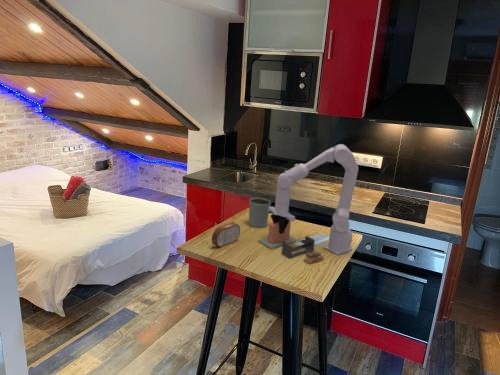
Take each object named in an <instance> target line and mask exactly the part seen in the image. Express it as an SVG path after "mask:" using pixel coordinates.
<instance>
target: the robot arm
mask: <svg viewBox="0 0 500 375" xmlns="http://www.w3.org/2000/svg"><path fill="white" fill-rule="evenodd" d="M327 162H328V163H335V162H337V163H338V164H340V165H341V166H342V167H343V168H344V170H345V171H344V176H343V180H342V186H341V189H340V196H339V200H338V203H337V207H336V209H335V211H334V214H332V217H331V218H332V223H333V224H332V225H331V226H330V231H329V239H328V243H327V244H328V245H324V246H323V248H324V249H326V250H327V251H329V252H332V253H334V254H335V255H341V254H344V253H347V252H350V251H352V250H353V248H351V245H352V240H353V233H352V230H351V229H350V221H349V219H350V209H351V204H352V201H353V200H352V199H353V195H354V190H355V187H356V183H357V177H358V173H359V165H358V163H357V160H356V159H355V157H354V154H353V152H352V151H351V149H349V148H348V147H347V145H345V144H343V143H339V144H337V145H335V146H332V147H330V148H328V149H326V150H324V151H323V152H321V153H320V154H319V155H317V156H315V157H314V158H312V159H311V160H309V161H308V162H306V163H302V162H301V163H299V164H298V163H296V164H294V166H293V167H291V168H290V169H288V170H287V169H286V170H285V171H284V172H282V173H281V174H279V175H278V177H277V181H276V184H277V185H276V189H277V190H276V192H275V204H274V206H271V205H270V207H268V211H269V213H270V212H271V213H272V214H271V215H270V218H271V220H272V223H276V222H279V233H280V234H282V233H284V231H285V229H286V226H287V225H288V223H289V222H291V223H292V222H295V220H296V216H295V215H293V214H291V213H290V211H289V209H290V208H289V207H290V199H291V198H290V197H291V191H290V190H291V186H292V184H296V183H297V182H299V181H300V180H302V179H304V178H305V177H307V176H308V175H309V172H310V171H311V170H313V169H316V168H317V167H319V166H321V165H323V164H325V163H327Z"/></svg>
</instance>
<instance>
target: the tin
mask: <svg viewBox="0 0 500 375" xmlns="http://www.w3.org/2000/svg"><path fill="white" fill-rule="evenodd" d="M240 233H241V226H240V225H239V224H238V223H236V222H234V221H233V222H229V223H226V224H223V225H220V226H217V227H216V229H214V231H213V233H212V236H211V243H212V244H213V245H214V246H216V247H218V248H222V247H224V246H227V245H229V244H232V243H234V242H236V241H237V240H238V238H239V237H240Z"/></svg>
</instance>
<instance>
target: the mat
mask: <svg viewBox="0 0 500 375" xmlns="http://www.w3.org/2000/svg"><path fill="white" fill-rule="evenodd" d="M296 241H298V242H299V240H298V239H297V238H294V237H292V236H291V235H289V239H288V240H284V241H280V242H276V243H273V244H271V243H269V242H268V237H267V238H262V239H258V240H257V243H259V244H261V245H263V246H264V247H266V248H268V249H269V250H273V249H276V248H280V247H282V246H283V242H286V243H287V244H289V245H291V244H296V243H297V242H296Z"/></svg>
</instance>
